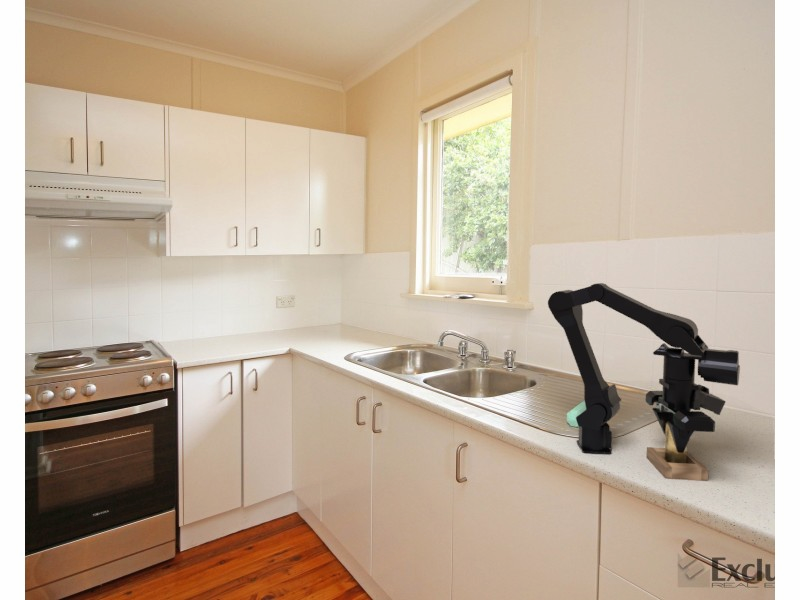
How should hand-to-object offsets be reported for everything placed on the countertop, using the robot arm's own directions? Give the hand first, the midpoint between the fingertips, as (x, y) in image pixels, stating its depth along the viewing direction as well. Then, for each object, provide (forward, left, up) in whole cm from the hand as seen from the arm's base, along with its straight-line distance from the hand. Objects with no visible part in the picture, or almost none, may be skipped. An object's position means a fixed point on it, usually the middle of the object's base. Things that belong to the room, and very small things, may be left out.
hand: (675, 448), depth 97 cm
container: (-10, +33, -5) cm, 35 cm away
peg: (0, 0, -3) cm, 3 cm away
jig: (0, 0, -5) cm, 5 cm away
